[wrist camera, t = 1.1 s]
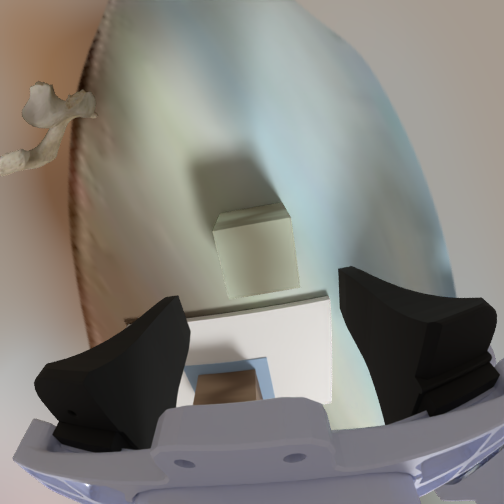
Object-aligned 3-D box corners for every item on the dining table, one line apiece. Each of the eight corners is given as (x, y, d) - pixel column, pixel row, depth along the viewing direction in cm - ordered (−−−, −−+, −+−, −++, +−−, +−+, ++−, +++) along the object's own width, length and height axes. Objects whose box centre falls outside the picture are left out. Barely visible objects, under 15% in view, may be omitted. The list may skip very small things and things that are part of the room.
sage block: (281, 202, 20) (290, 217, 16) (290, 259, 22) (300, 287, 17) (219, 213, 20) (212, 231, 16) (232, 269, 22) (229, 299, 18)
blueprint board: (328, 295, 23) (330, 299, 22) (330, 398, 28) (331, 403, 27) (127, 324, 24) (125, 328, 23) (177, 415, 29) (176, 419, 28)
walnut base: (255, 369, 25) (256, 401, 21) (264, 403, 26) (265, 433, 23) (198, 374, 25) (192, 406, 21) (213, 407, 27) (210, 437, 23)
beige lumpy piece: (86, 40, 13) (17, 77, 7) (126, 97, 18) (86, 163, 12) (19, 104, 15) (-45, 170, 9) (57, 150, 20) (12, 227, 14)
